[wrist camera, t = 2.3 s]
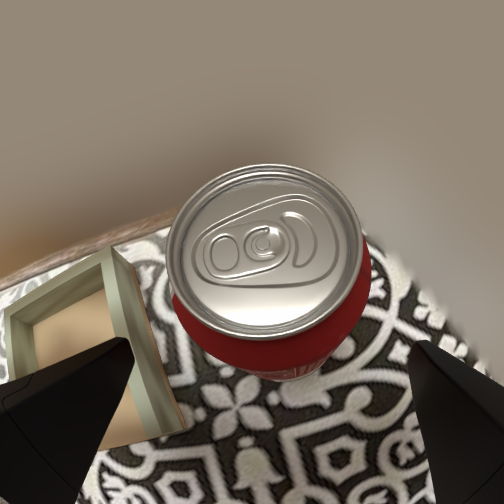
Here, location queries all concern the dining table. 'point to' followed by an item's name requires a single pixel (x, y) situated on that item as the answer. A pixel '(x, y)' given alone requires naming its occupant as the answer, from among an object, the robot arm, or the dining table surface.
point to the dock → (96, 340)
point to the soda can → (268, 269)
